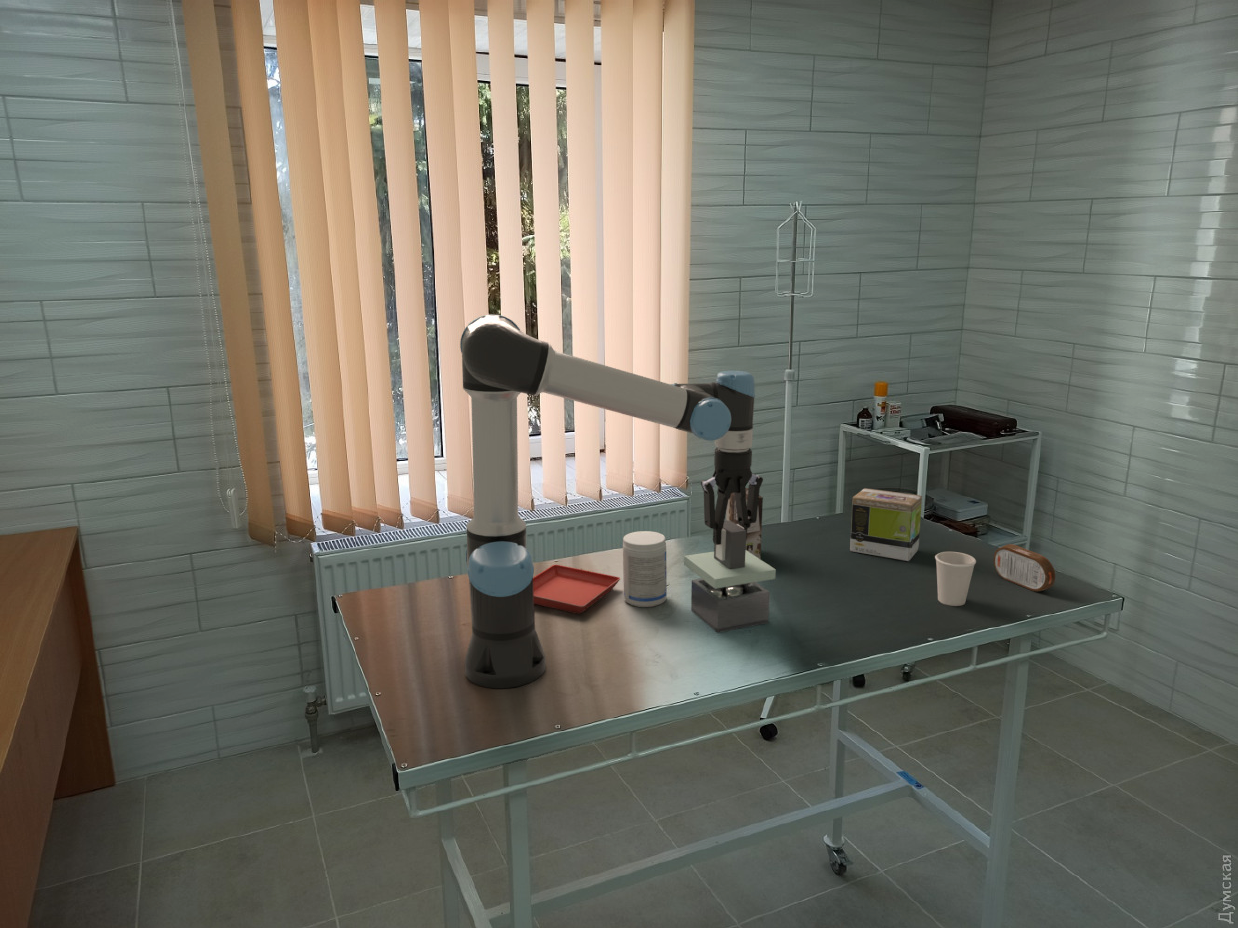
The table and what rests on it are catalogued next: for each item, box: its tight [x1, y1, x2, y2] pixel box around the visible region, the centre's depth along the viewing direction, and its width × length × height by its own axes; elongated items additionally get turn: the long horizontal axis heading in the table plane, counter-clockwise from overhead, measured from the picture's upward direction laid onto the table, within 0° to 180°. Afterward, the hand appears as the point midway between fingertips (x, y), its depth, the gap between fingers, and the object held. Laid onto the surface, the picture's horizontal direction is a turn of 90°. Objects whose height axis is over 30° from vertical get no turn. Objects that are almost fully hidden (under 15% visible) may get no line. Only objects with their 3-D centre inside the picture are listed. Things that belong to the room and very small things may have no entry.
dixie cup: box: [934, 551, 977, 607], centre depth 195 cm, size 8×8×10 cm
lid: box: [683, 520, 777, 589], centre depth 186 cm, size 14×14×10 cm
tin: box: [993, 543, 1056, 592], centre depth 204 cm, size 15×3×8 cm, turn 27°
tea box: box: [849, 487, 923, 562], centre depth 225 cm, size 15×10×15 cm, turn 58°
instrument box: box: [690, 577, 770, 634], centre depth 189 cm, size 12×12×7 cm
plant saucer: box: [533, 564, 621, 614], centre depth 201 cm, size 18×18×3 cm
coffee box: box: [725, 487, 764, 560], centre depth 223 cm, size 9×6×16 cm
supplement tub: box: [622, 530, 668, 608], centre depth 197 cm, size 10×10×15 cm
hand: (729, 556), depth 186 cm, fingers closed on lid, 3 cm apart
